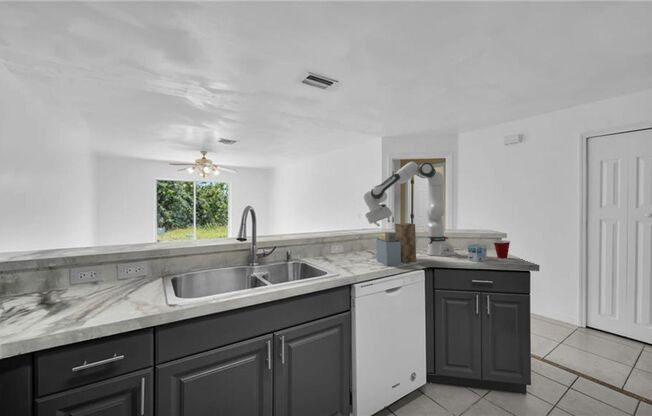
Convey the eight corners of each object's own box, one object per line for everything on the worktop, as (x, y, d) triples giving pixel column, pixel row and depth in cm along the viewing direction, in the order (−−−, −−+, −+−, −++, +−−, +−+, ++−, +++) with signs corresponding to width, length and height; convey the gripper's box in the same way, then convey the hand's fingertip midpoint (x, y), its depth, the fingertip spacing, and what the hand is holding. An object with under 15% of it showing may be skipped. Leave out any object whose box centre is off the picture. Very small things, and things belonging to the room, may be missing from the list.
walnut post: (409, 259, 204) (408, 223, 204) (416, 262, 194) (415, 224, 194) (396, 260, 202) (395, 223, 202) (402, 263, 192) (401, 224, 192)
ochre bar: (384, 238, 208) (384, 230, 208) (396, 241, 188) (395, 232, 188) (377, 238, 207) (377, 230, 207) (389, 242, 187) (388, 233, 187)
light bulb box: (477, 262, 188) (476, 245, 188) (467, 260, 194) (467, 244, 194) (487, 260, 193) (486, 244, 193) (477, 258, 199) (477, 243, 199)
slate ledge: (389, 259, 205) (389, 237, 205) (401, 264, 188) (400, 240, 187) (376, 260, 203) (376, 238, 203) (386, 265, 186) (386, 241, 186)
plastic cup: (491, 256, 207) (491, 239, 206) (508, 256, 203) (508, 239, 203) (494, 259, 196) (494, 241, 196) (513, 259, 193) (512, 241, 193)
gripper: (365, 212, 223) (373, 227, 218) (387, 203, 228) (396, 217, 222) (363, 215, 229) (371, 230, 223) (385, 207, 234) (394, 221, 228)
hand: (384, 224), depth 223 cm, fingers open, 8 cm apart
